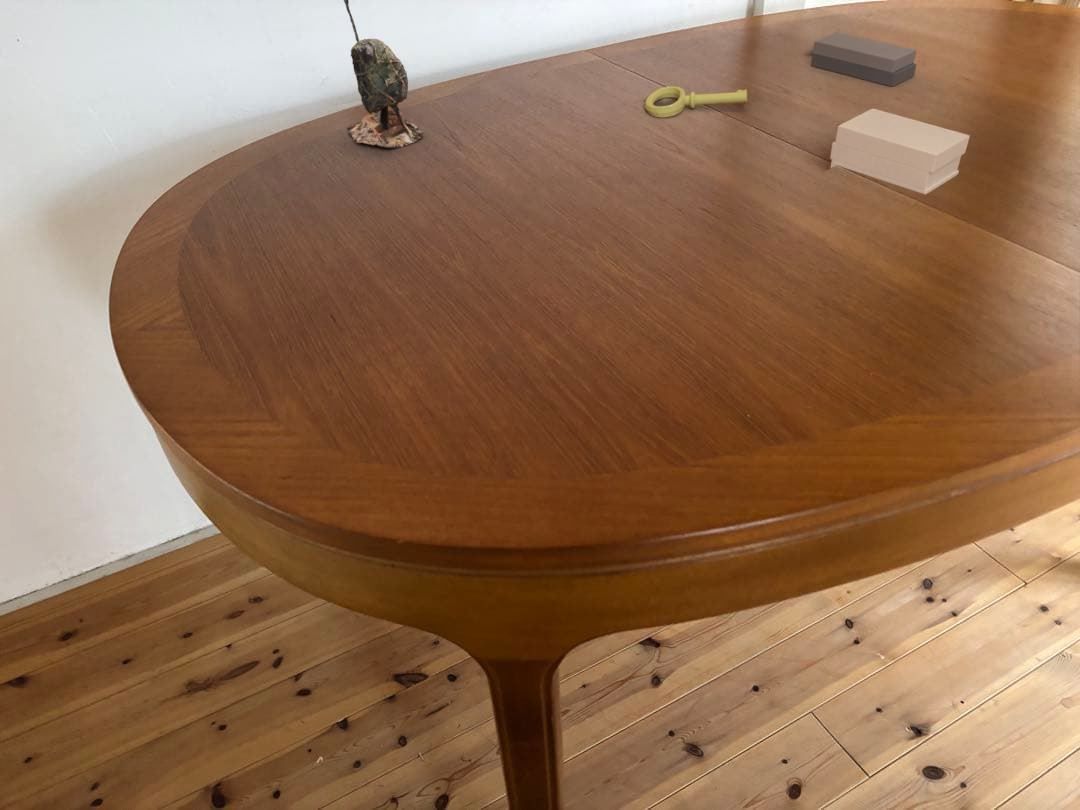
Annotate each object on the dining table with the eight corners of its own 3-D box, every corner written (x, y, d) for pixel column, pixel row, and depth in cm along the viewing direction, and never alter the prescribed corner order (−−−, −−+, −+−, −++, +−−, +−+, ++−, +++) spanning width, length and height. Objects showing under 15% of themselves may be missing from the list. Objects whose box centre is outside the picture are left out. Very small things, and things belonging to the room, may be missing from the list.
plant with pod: (366, 164, 99) (332, -29, 86) (343, 129, 107) (308, -52, 95) (435, 150, 101) (412, -41, 89) (407, 117, 109) (382, -62, 97)
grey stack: (914, 76, 112) (919, 50, 110) (892, 87, 110) (897, 60, 108) (832, 56, 120) (836, 31, 118) (810, 65, 117) (814, 40, 115)
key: (751, 111, 106) (753, 93, 104) (649, 119, 105) (650, 102, 104) (735, 90, 111) (737, 73, 110) (639, 98, 111) (639, 81, 110)
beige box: (955, 187, 88) (970, 135, 85) (923, 208, 85) (936, 155, 82) (860, 157, 95) (870, 107, 91) (826, 175, 92) (835, 124, 88)
